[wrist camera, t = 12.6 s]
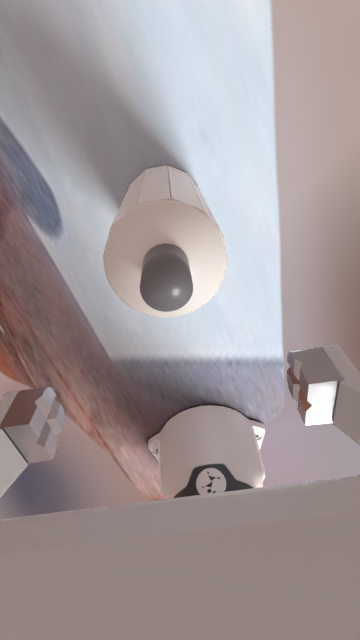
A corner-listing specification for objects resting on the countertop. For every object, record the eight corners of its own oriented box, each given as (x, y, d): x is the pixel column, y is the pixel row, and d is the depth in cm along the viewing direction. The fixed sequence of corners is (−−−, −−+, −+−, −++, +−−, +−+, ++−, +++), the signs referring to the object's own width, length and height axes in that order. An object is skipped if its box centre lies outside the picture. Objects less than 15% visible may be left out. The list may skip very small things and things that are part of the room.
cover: (205, 237, 32) (240, 334, 18) (136, 249, 33) (116, 353, 18) (196, 159, 28) (232, 204, 14) (117, 173, 29) (73, 232, 14)
